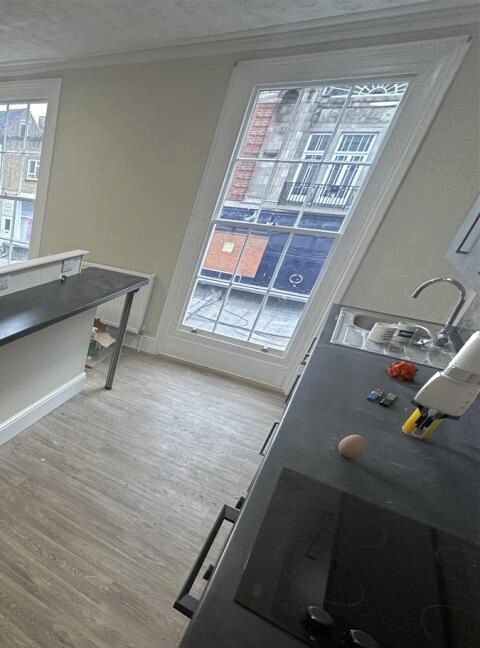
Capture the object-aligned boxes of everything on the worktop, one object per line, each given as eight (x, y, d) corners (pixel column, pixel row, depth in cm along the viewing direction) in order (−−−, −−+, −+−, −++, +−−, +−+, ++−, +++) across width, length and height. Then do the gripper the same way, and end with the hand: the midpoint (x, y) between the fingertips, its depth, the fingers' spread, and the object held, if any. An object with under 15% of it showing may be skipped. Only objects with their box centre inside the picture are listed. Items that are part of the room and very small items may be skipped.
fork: (374, 402, 147) (375, 399, 146) (365, 398, 148) (366, 396, 148) (384, 392, 154) (385, 390, 154) (375, 389, 156) (376, 387, 156)
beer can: (421, 432, 130) (454, 394, 123) (428, 442, 126) (463, 403, 118) (397, 426, 133) (428, 387, 125) (403, 435, 128) (435, 396, 121)
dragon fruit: (399, 379, 170) (391, 390, 164) (385, 363, 172) (376, 372, 166) (425, 371, 163) (418, 382, 157) (410, 354, 164) (402, 364, 159)
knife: (386, 407, 144) (388, 405, 143) (379, 404, 145) (380, 402, 145) (397, 396, 152) (398, 394, 152) (389, 393, 154) (391, 391, 153)
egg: (357, 457, 115) (373, 437, 111) (355, 465, 112) (371, 444, 108) (335, 447, 118) (349, 428, 115) (332, 455, 115) (346, 434, 111)
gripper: (504, 384, 108) (455, 437, 118) (429, 360, 118) (390, 411, 128) (501, 390, 104) (451, 445, 114) (425, 366, 114) (384, 417, 124)
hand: (419, 427), depth 121 cm, fingers closed
